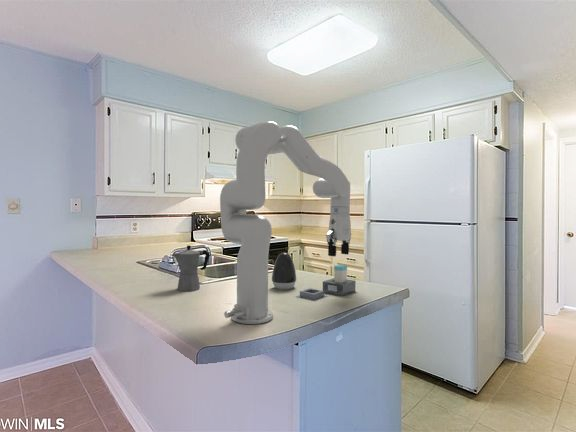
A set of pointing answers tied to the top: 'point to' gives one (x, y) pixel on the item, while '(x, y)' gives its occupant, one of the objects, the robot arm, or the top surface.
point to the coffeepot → (189, 268)
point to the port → (339, 287)
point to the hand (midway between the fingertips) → (338, 255)
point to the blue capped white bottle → (340, 273)
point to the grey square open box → (312, 294)
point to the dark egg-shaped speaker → (284, 272)
